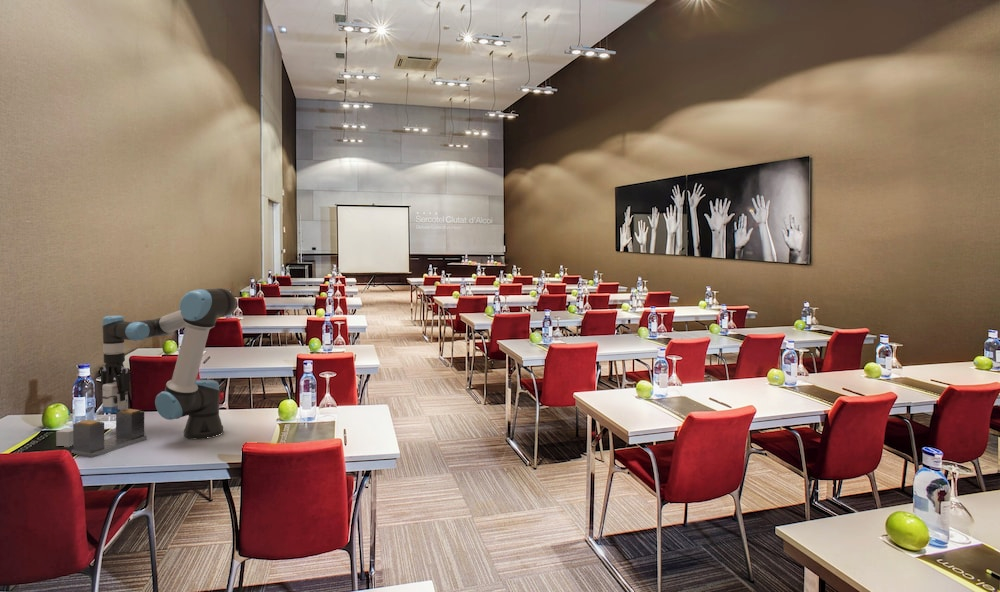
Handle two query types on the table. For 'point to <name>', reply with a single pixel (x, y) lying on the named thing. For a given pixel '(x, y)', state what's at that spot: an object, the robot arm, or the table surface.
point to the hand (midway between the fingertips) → (115, 407)
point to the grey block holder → (92, 438)
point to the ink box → (112, 398)
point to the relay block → (64, 437)
